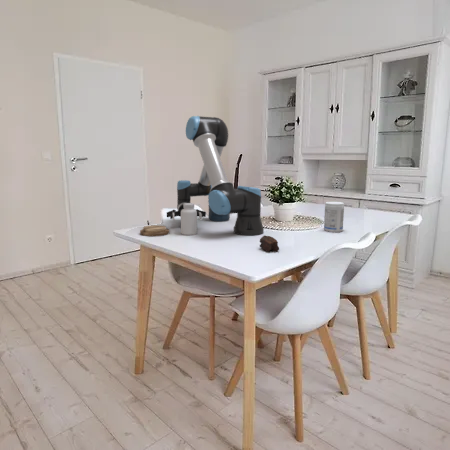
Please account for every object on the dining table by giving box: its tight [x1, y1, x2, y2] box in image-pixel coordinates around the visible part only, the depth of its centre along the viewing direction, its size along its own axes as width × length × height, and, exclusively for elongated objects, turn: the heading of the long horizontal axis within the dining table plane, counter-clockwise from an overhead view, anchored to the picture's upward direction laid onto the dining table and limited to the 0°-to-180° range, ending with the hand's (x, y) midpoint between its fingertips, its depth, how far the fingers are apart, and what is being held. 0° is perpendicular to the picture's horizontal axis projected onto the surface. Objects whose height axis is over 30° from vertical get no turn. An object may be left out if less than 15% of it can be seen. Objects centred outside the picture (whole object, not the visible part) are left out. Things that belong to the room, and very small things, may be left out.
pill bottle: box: [180, 202, 198, 236], centre depth 182 cm, size 8×8×15 cm
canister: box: [207, 204, 231, 222], centre depth 220 cm, size 13×13×18 cm
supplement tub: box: [323, 201, 345, 233], centre depth 192 cm, size 10×10×15 cm
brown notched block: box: [259, 235, 280, 253], centre depth 154 cm, size 6×7×10 cm
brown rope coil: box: [139, 224, 170, 237], centre depth 183 cm, size 14×14×3 cm
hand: (187, 217), depth 185 cm, fingers open, 13 cm apart
